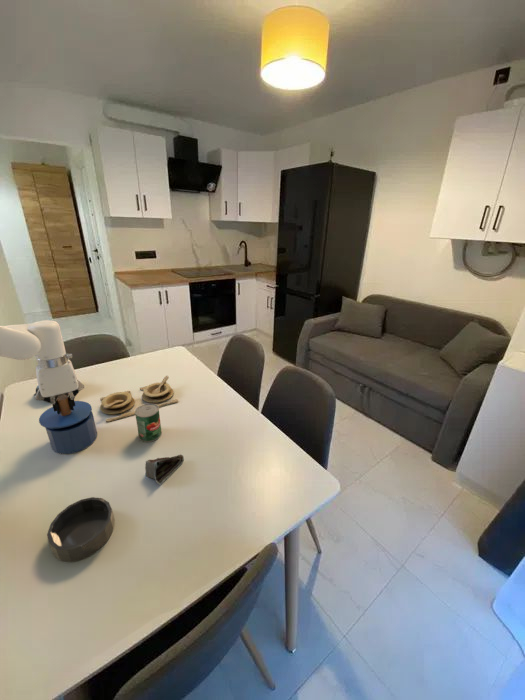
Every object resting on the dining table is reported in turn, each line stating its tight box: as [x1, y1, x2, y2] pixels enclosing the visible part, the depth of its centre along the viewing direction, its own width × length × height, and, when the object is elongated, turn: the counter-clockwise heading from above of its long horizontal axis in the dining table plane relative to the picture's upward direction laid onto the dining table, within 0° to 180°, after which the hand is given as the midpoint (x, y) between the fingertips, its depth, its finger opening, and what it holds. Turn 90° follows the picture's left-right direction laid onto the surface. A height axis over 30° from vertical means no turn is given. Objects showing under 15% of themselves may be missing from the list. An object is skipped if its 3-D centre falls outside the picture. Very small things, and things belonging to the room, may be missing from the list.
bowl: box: [46, 496, 115, 563], centre depth 72 cm, size 13×13×4 cm
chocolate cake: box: [144, 454, 185, 486], centre depth 91 cm, size 10×7×12 cm
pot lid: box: [38, 395, 93, 429], centre depth 96 cm, size 15×15×7 cm
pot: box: [45, 410, 98, 455], centre depth 100 cm, size 14×14×10 cm
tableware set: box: [99, 375, 179, 423], centre depth 124 cm, size 30×20×6 cm, turn 124°
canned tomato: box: [134, 403, 163, 443], centre depth 104 cm, size 8×8×11 cm
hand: (65, 409), depth 97 cm, fingers closed on pot lid, 3 cm apart
